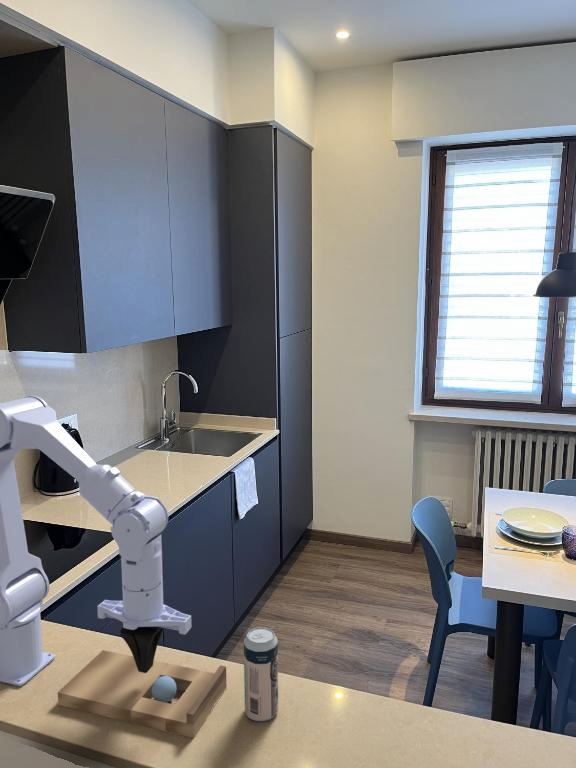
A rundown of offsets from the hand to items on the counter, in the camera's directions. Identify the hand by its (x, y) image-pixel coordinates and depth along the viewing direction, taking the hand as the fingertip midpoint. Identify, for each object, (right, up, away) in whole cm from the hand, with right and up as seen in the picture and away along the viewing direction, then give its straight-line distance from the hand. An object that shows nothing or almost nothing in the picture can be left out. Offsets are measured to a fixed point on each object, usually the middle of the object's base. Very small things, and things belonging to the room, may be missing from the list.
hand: (145, 668), depth 87 cm
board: (0, -5, +1) cm, 5 cm away
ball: (+3, -3, -1) cm, 4 cm away
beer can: (+17, -5, -3) cm, 18 cm away
